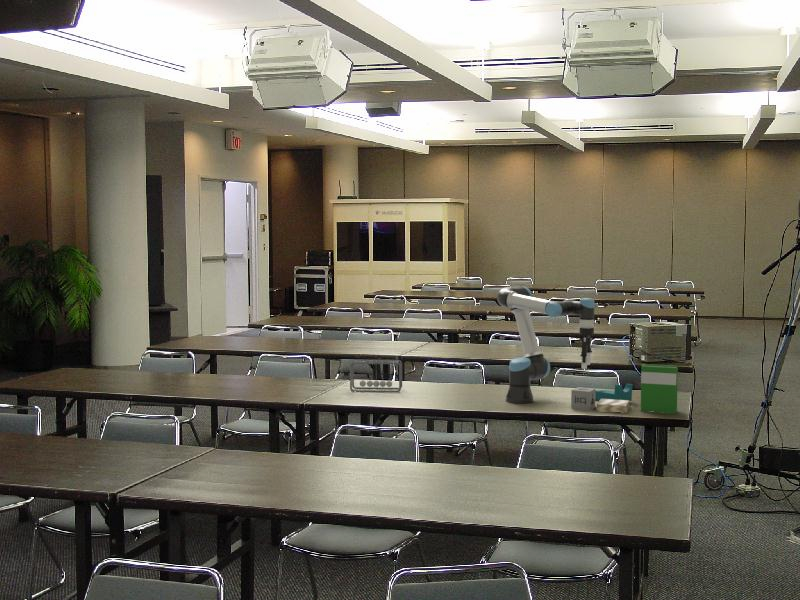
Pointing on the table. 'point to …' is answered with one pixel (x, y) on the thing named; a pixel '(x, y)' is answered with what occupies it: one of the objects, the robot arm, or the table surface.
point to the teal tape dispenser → (616, 393)
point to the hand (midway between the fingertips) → (585, 366)
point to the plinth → (613, 405)
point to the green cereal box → (659, 388)
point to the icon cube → (583, 398)
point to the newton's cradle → (376, 383)
